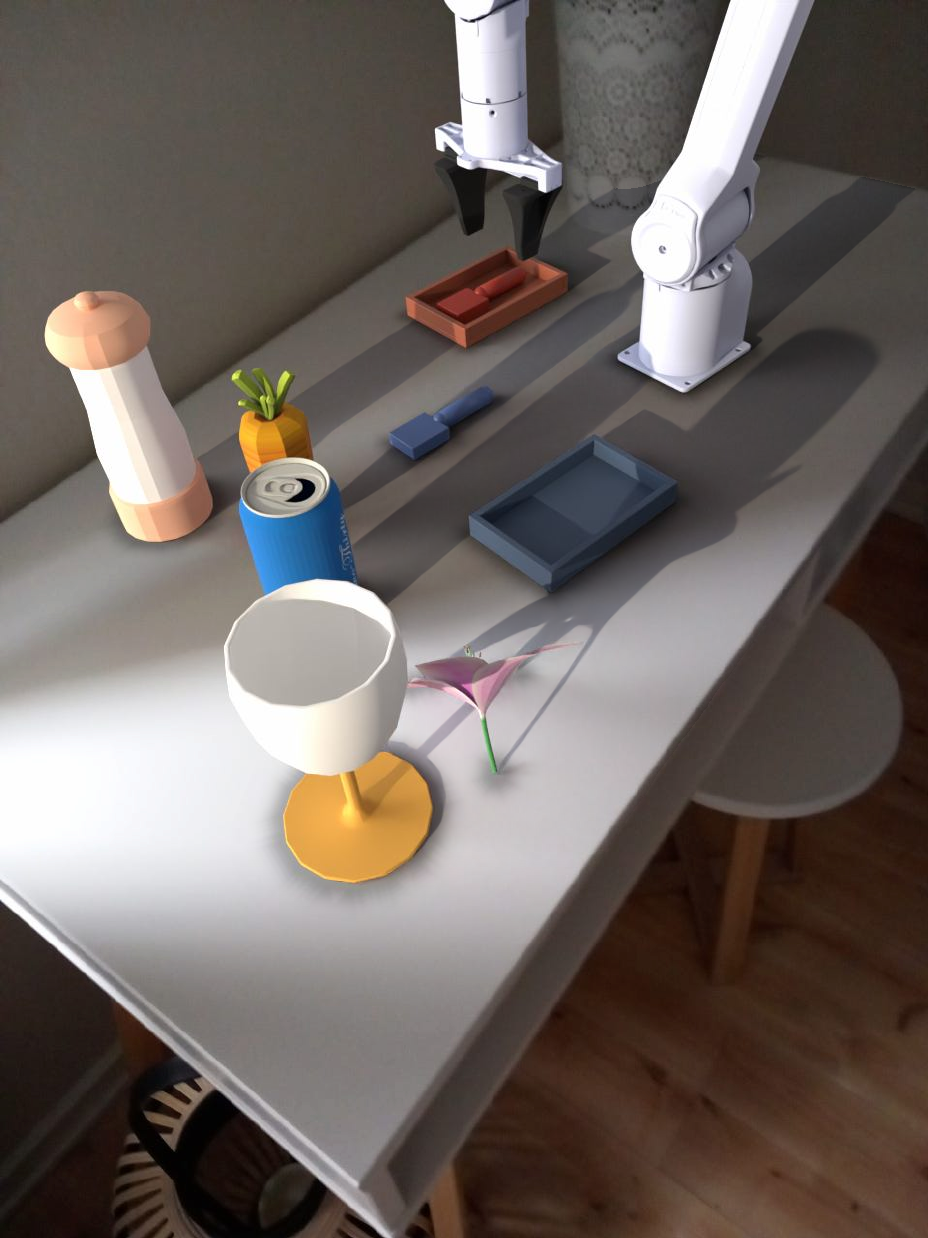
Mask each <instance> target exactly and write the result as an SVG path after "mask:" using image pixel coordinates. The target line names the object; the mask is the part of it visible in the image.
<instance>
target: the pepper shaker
mask: <svg viewBox="0 0 928 1238" xmlns="http://www.w3.org/2000/svg"><path fill="white" fill-rule="evenodd" d="M44 339H45V341H44V342H45V345H46V347H47V350H48V351H49V353H50V354H51V355H52V356H53V358H55V360H57V361H58V362H59V363H60V364H62V365H64V366H66V367H67V368H69V370H70V372H71V375H72V378H73V380H74V382H75V384H76V387H77V390H78V393H79V395H80V397H81V399H82V401H83V402H82V403H83V404H84V406H85V409H86V411H87V412H86V413H87V416H88V421H89V425H90V429H91V433H92V434H91V435H92V438H93V442H94V447H95V450H96V451H95V452H96V455H97V457H98V459H99V461H100V464H101V465H102V467H103V470H104V472H105V474H106V476H107V478H108V480H109V490H108V491H109V492H108V493H109V496H110V497H111V500H112V503H113V505H114V507H115V509H116V511H117V514H118V516H119V518H120V521H121V522H122V523H121V524H122V525H123V527H124V528H125V530H126V532H127V533H128V534H129V535H131V537H134V538H135V539H138V540H141V541H144V542H153V543H154V542H155V543H156V542H157V543H158V542H159V543H162V542H167V541H172V540H177V539H179V538H182V537H184V536H186V535H189V534H191V533H193V531H196V530H197V529H198V528H200V527H201V526H202V525H203V524H204V523H205V522H206V521H207V520H208V518H209V517H210V516H211V513H212V510H213V508H214V505H213V504H214V503H213V496H212V493H211V490H210V487H209V484H208V480H207V477H206V475H205V473H204V469H203V466H202V465H201V463H200V462H199V460H198V459H197V458H196V457H195V456H194V455H193V452H192V449H191V445H190V443H189V442H190V441H189V439H188V435H187V432H186V429H185V427H184V425H183V423H182V422H181V421H180V418H179V416H178V415H177V413H176V411H175V409H174V407H173V406H172V403H170V400H169V399H168V397H167V395H166V393H165V391H164V390H163V387H162V383H161V381H160V378H159V376H158V373H157V370H156V367H155V365H154V362H153V359H152V356H151V353H150V351H149V348H148V343H149V342H150V339H151V317H150V316H149V315H148V313H147V312H146V310H145V309H144V307H143V306H142V305H141V303H140V302H139V301H137V300H135V299H134V298H133V297H132V296H130V295H128V294H126V293H125V292H120V291H115V290H98V291H92V290H85V291H81V292H79V293H77V294H76V295H75V296H74V297H72V298H70V299H68V300H66V301H64V302H62V303H61V304H59V305H58V306H57V307H56V308H54V309H53V310H52V312H51V313H50V314H49V316H48V317H47V321H46V325H45V331H44Z"/></svg>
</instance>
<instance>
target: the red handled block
mask: <svg viewBox="0 0 928 1238" xmlns="http://www.w3.org/2000/svg"><path fill="white" fill-rule="evenodd" d="M525 279H526V271H525V270H524V268H522V267H515V268H513V269H511V270H510V271H508V272H506V273H504V274H502V275H500V276H498V277H496V278H494V279H492V280H491V281H489V282H487V283H485V284H483V285H481V286H479V287H477V288H476V289H475V291H473V290H471V289H469V288H465V289H463V290H461V291H460V292H458V293H456V294H454V295H452V296H450V297H448V298H446V299H444V300H442V301H440V302H438V303H437V310H439V311H440V312H442V313H444V314H446V315H448V316H450V317H451V318H453V319H455V320H457V321H459V322H461V323H462V324H464V323H466V322H467V321H469V320H471V319H473V318H475V317H477V316H478V315H480V314H482V313H484V312H486V311H488V310H489V300H491V299H493V298H494V297H496V296H498V295H500V294H502V293H504V292H506V291H507V290H509V289H511V288H513V287H515V286H517V285H519V284H521V283H522V282H524V281H525Z"/></svg>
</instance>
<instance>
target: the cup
mask: <svg viewBox="0 0 928 1238" xmlns="http://www.w3.org/2000/svg"><path fill="white" fill-rule="evenodd" d="M223 649H224V661H225V673H226V680H227V686H228V687H227V688H228V692H229V693H228V694H229V698H230V700H231V702H232V704H233V705H234V707H235V709H236V711H237V713H238V714H239V716H240V718H241V720H242V721H243V722H244V724H245V726H246V727H247V728H248V730H249V732H250V733H251V734H252V735H253V737H254V739H255V740H256V741H257V742H258V743H259V744H260V746H262V747H263V748H264V750H266V751H267V752H268V753H269V754H270V755H271V756H272V757H274V758H276V759H278V760H279V761H280V762H283V763H285V764H287V765H289V766H291V767H293V768H294V769H296V770H298V771H301V772H303V773H305V775H304V776H303V777H302V778H301V779H300V781H299V782H298V783H297V784H296V785H295V787H294V788H293V789H292V790H291V791H290V794H289V798H288V801H287V804H286V807H285V810H284V813H283V815H282V819H283V827H284V834H285V843H286V844H287V846H288V847H289V849H290V850H291V852H292V854H293V855H294V856H295V859H296V860H297V861H298V863H299V864H300V866H301V867H304V868H305V869H307V870H309V871H311V872H312V873H313V874H316V875H317V876H319V877H320V878H322V879H324V880H330V881H336V882H337V881H339V882H343V883H353V884H356V883H360V882H364V881H369V880H373V879H377V878H382V877H385V876H387V875H389V874H390V873H391V872H394V871H395V870H396V869H398V868H399V867H401V866H402V865H404V864H406V863H407V862H408V861H410V860H411V859H412V858H413V857H414V855H415V854H416V853H417V851H418V850H419V849H420V847H421V845H423V843H424V841H425V840H426V839H427V837H428V836H429V831H430V828H431V824H432V823H431V822H432V818H433V813H434V805H433V801H432V797H431V793H430V789H429V784H428V782H427V781H426V779H425V778H424V777H423V776H422V774H421V773H420V772H419V771H418V769H416V767H415V766H414V765H413V764H412V763H410V762H409V761H406V760H404V759H402V758H400V756H397V755H395V754H393V753H391V752H389V751H382V749H383V748H384V747H385V745H386V744H387V743H388V742H389V740H390V739H391V737H392V736H393V734H394V733H395V731H396V730H397V728H398V726H399V720H400V717H401V713H402V710H403V706H404V703H405V696H406V693H407V684H408V682H409V677H408V657H407V654H406V650H405V647H404V642H403V639H402V633H401V632H400V628H399V626H398V624H397V621H396V619H395V617H394V613H393V612H392V610H391V609H390V608H389V607H388V606H387V605H386V604H385V603H384V601H382V599H381V598H380V597H379V596H378V595H377V594H376V593H375V592H374V591H372V590H369V589H367V588H364V587H362V586H360V585H359V586H357V585H355V584H353V583H351V582H348V581H337V580H324V579H314V580H309V581H304V582H300V583H295V584H290V585H285V586H283V587H281V588H279V589H277V590H275V591H273V592H271V593H270V594H268V595H266V596H265V595H264V596H262V597H260V598H258V599H256V600H255V601H254V602H253V603H252V604H251V605H249V607H248V608H247V609H246V610H245V611H244V612H243V613H242V614H241V615H240V616H239V617H238V618H237V619H236V620H235V621H234V623H233V625H232V628H231V630H230V632H229V635H228V637H227V639H226V641H225V644H224V646H223Z"/></svg>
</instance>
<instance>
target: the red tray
mask: <svg viewBox="0 0 928 1238" xmlns="http://www.w3.org/2000/svg"><path fill="white" fill-rule="evenodd" d="M515 267H522V268H524V270H525V271H526V279H525V281H524V282H522V283H521V284H519V285H517V286H515V287H513V288H511V289H509V290H507V291H506V292H504V293H502V294H500V295H498V296H496V297H494V298H493V299H491V300H489V310H488V311H486V312H484V313H482V314H480V315H478V316H477V317H475V318H473V319H471V320H469V321H467V322H466V323H464V324H462V323H461V322H459V321H457V320H455V319H453V318H451V317H450V316H448V315H446V314H444V313H442V312H440V311H439V310H437V303H438V302H440V301H442V300H444V299H446V298H448V297H450V296H452V295H454V294H456V293H458V292H460V291H461V290H463V289H465V288H469V289H471V290H473V291H475V289H476V288H477V287H479V286H481V285H483V284H485V283H487V282H489V281H491V280H492V279H494V278H496V277H498V276H500V275H502V274H504V273H506V272H508V271H510V270H511V269H513V268H515ZM568 279H569V275H568V272H565V271H564V270H561V269H559V268H557V267H554V266H553V265H550V264H548V263H546V262H544V261H542V260H540V259H538V258H536V257H534V256H533V257H531V258H529V259H527V260H525V261H521V260H519V259H518V258H517V254H516V249H515V248H514V247H512V246H509V245H505V246H503V247H501V248H499V249H497V250H496V251H493V252H491V253H489V254H487V255H486V256H483V257H481V258H480V259H478V260H476V261H473V262H471V263H470V264H468V265H465V266H463V267H462V268H459V269H458V270H456V271H454V272H452V273H449V274H448V275H446V276H444V277H442V278H440V279H438V280H437V281H435V282H433V283H431V284H428V285H427V286H424V287H423V288H420V289H419V290H417V291H414V292H413V293H411V294H409V295H406V296H405V304H406V313H407V316H408V317H410V318H411V319H414V320H415V321H417V322H419V323H420V324H422V325H424V326H426V327H428V328H429V329H431V330H432V331H435V332H436V333H439V334H440V335H441V336H443V337H445V338H446V339H449V340H450V341H453V342H454V343H455V344H458V345H459V346H462V347H464V348H465V349H468V348H469V347H471V346H473V345H475V344H476V343H478V342H481V341H482V340H483V339H485V338H487V337H489V336H492V335H493V334H494V333H497V331H500V330H502V329H504V328H505V327H507V326H508V325H509V326H510V324H512V323H514V322H516V321H518V320H519V319H521V318H523V317H525V316H527V315H528V314H530V313H532V312H534V311H535V310H537V309H539V308H542V307H543V306H544V305H546V304H548V303H550V302H552V301H553V300H555V299H557V298H559V297H561V296H563V295H564V294H567V293H568V284H569V280H568Z"/></svg>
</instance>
